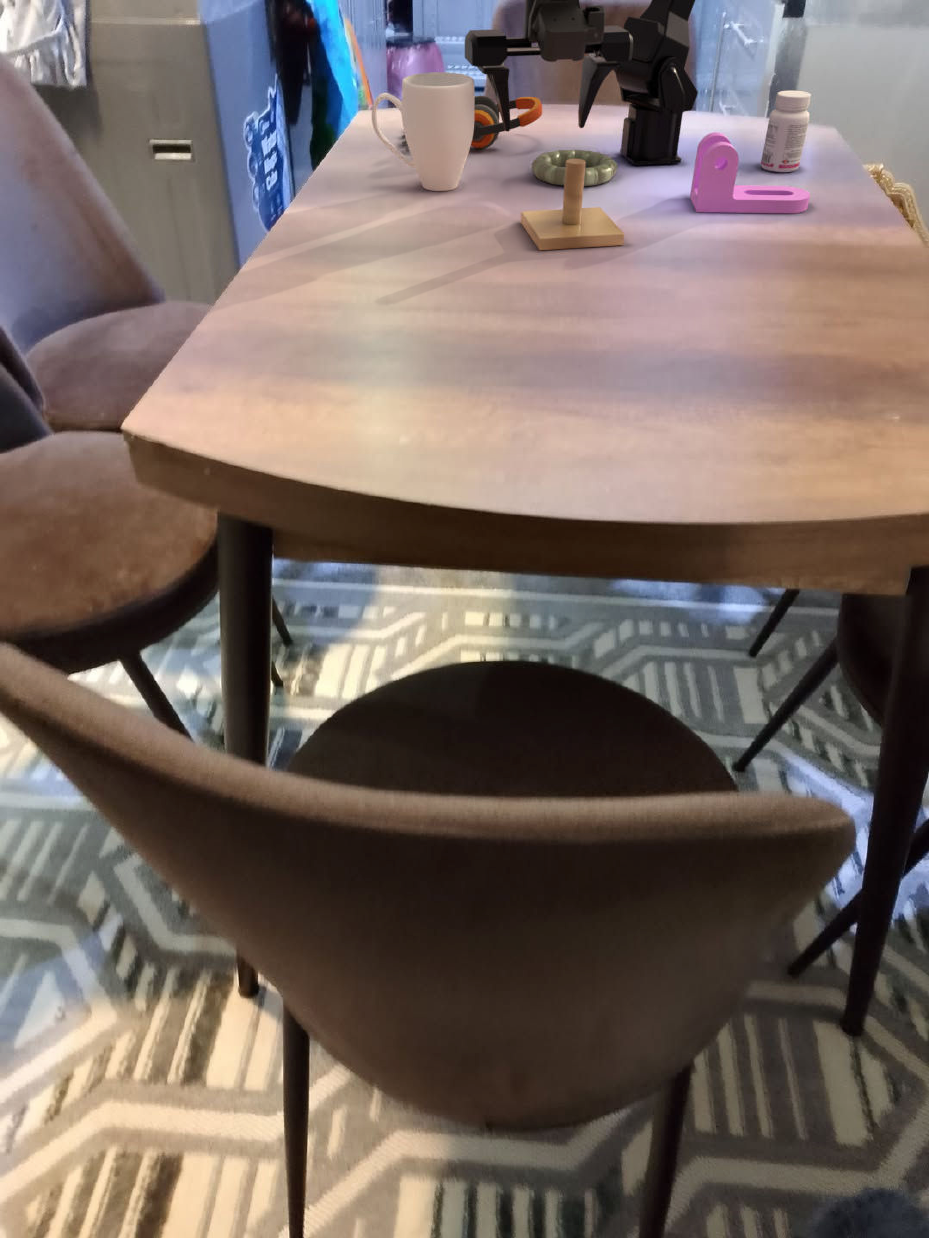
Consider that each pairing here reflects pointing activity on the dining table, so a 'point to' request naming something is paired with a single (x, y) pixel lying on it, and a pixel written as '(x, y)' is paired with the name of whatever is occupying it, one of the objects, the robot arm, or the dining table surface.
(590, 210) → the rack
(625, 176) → the dining table surface
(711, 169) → the bracket
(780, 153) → the pill bottle
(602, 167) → the ring
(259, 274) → the dining table surface
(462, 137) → the mug
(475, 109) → the headphones
